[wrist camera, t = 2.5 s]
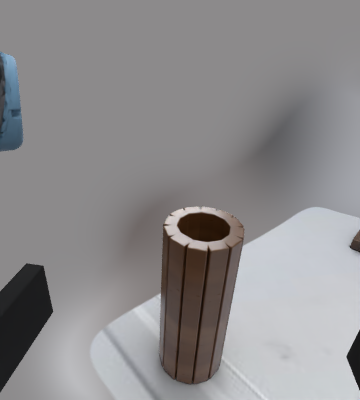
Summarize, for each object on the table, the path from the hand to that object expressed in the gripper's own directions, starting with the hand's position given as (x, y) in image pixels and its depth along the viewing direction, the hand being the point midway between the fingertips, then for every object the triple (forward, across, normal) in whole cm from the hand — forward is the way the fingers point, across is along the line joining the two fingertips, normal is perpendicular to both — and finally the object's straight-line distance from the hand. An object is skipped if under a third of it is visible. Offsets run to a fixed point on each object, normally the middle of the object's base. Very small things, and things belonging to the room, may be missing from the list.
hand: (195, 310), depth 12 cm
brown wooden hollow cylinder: (+9, 0, -15) cm, 18 cm away
